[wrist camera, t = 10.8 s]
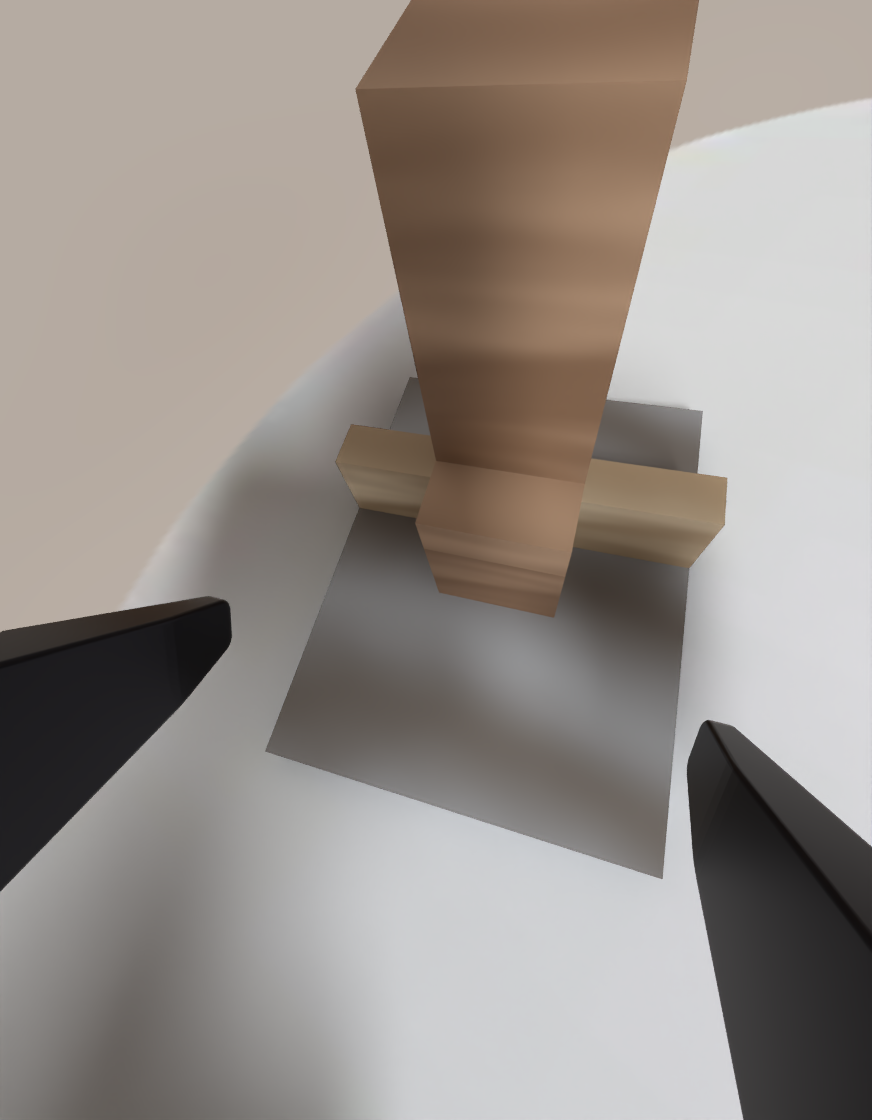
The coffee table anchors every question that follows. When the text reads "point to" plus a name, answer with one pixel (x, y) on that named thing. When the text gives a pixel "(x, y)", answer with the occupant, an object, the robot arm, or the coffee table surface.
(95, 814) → the coffee table surface
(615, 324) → the wooden block
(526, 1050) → the coffee table surface
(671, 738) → the cross plate base
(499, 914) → the coffee table surface
